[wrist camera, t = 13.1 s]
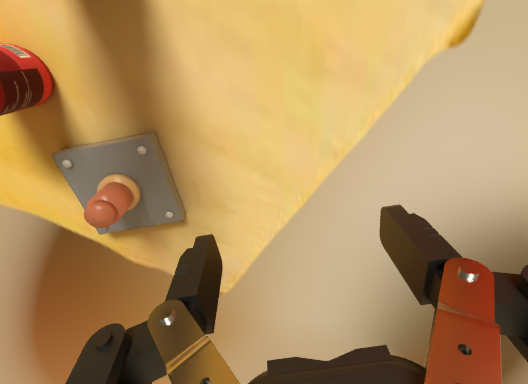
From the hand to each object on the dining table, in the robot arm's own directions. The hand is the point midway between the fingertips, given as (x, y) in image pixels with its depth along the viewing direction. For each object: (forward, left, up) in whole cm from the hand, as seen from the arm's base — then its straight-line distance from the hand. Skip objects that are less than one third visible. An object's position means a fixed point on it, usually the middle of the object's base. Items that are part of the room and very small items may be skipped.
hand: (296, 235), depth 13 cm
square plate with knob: (+8, -25, -30) cm, 40 cm away
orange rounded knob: (+8, -25, -26) cm, 37 cm away
